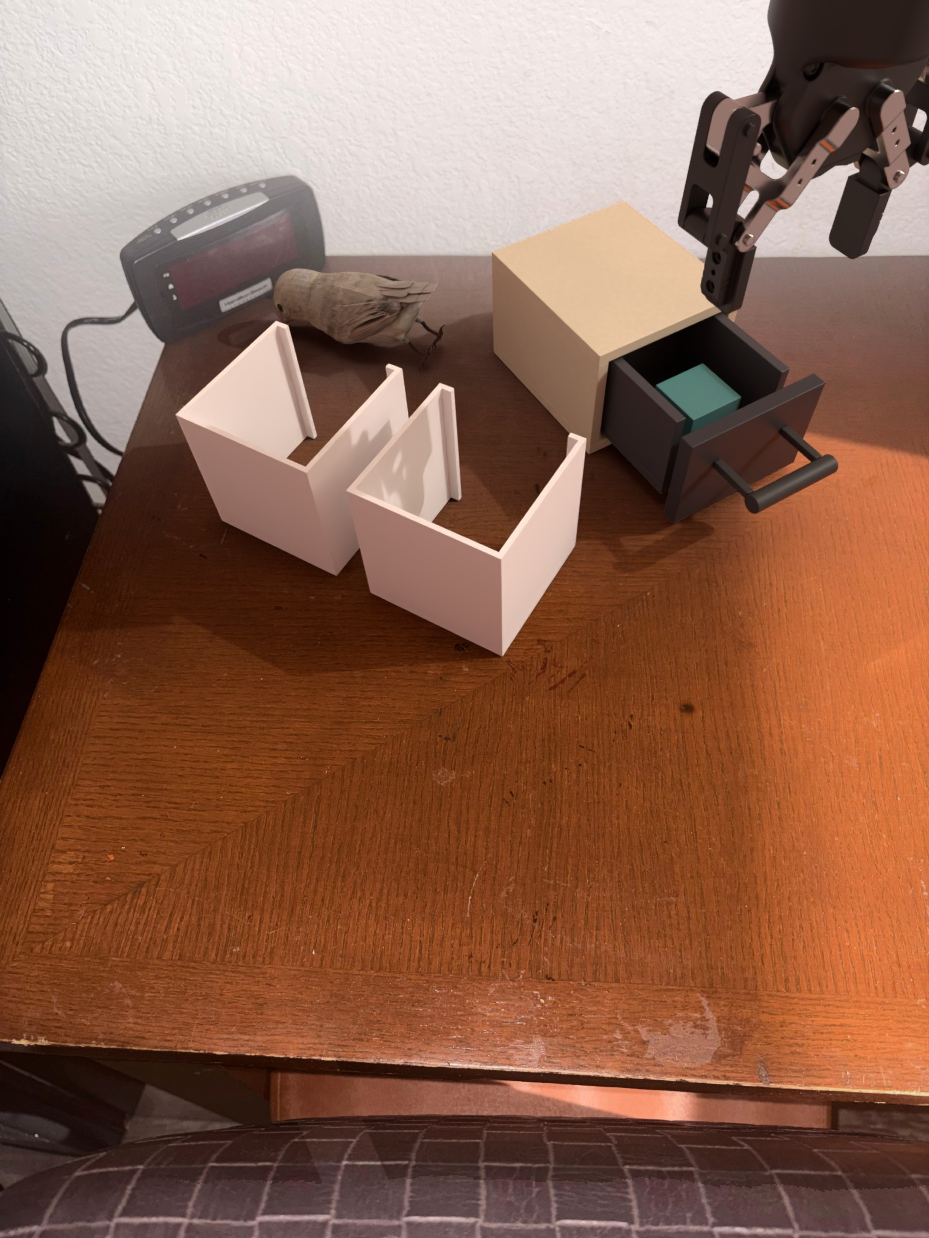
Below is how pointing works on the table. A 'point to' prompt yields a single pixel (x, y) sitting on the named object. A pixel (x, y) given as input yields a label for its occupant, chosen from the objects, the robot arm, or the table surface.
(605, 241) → the beige hollow box
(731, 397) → the block
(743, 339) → the drawer
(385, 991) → the table surface
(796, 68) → the robot arm
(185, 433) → the white desk organizer
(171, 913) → the table surface
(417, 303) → the decorative bird
